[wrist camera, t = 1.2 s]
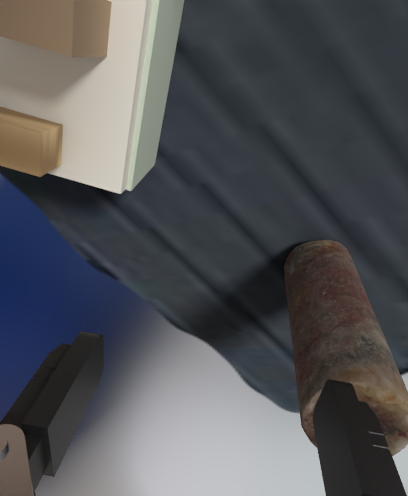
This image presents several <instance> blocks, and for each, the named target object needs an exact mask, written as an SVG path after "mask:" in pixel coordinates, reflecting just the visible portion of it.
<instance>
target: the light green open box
mask: <svg viewBox="0 0 408 496" xmlns="http://www.w3.org/2000/svg"><path fill="white" fill-rule="evenodd" d="M183 5H184V0H153V6H152V13H151V20H150V27H149V34H148V41H147V48H146V55H145V62H144V69H143V76H142V83H141V90H140V98H139V105H138V112H137V119H136V126H135V133H134V140H133V147H132V154H131V161H130V168H129V175H128V182H127V188H126V189H125V190H128V191H132V190H133V188H134V187H135V186H136V185H137V184H138V183H139V182H140V181H141V179H142V178H143V177H144V176H145V175H146V174H147V173H148V172H149V170H150V169H151V168H152V167H153V166H154V165H155V161H156V155H157V149H158V144H159V138H160V133H161V127H162V122H163V116H164V111H165V105H166V100H167V94H168V89H169V83H170V77H171V72H172V66H173V61H174V55H175V50H176V44H177V39H178V33H179V28H180V22H181V17H182V11H183Z"/></svg>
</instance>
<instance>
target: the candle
mask: <svg viewBox="0 0 408 496" xmlns="http://www.w3.org/2000/svg"><path fill="white" fill-rule="evenodd" d="M284 276H285V287H286V296H287V303H288V312H289V320H290V328H291V336H292V345H293V354H294V364H295V372H296V381H297V390H298V399H299V407H300V417H301V425H302V428H303V430H304V432H305V433H306V435H307V436H308V438H309V439H310V441H311V442H312V443H313V444H314V445H315V446H316V447H317V443H316V437H315V432H314V426H313V412H314V408H315V405H316V403H317V401H318V398H319V396H320V394H321V392H322V389H323V387H324V385H325V383H326V381H327V380H328V379H332V380H337V381H342V382H348V383H351V384H352V385H353V386H354V389H355V392H356V395H357V398H358V401H361V402H366V403H367V404H368V405H369V407H370V408H371V409H372V411H373V412H374V413H375V415H376V416H377V417H378V420H379V422H380V425H381V428H382V430H383V433H384V434H383V436H384V437H385V439H386V441H387V444H388V450H390V452H391V455H392V456H393V455H395V454H396V453H398V452H400V451H401V450H402V449H403V448H405V446H406V445H407V444H408V391H407V389H406V387H405V384H404V382H403V379H402V377H401V375H400V373H399V370H398V368H397V366H396V363H395V361H394V359H393V356H392V354H391V352H390V349H389V347H388V344H387V342H386V339H385V337H384V334H383V332H382V330H381V328H380V326H379V323H378V321H377V318H376V316H375V314H374V311H373V309H372V307H371V305H370V302H369V299H368V297H367V295H366V292H365V289H364V287H363V284H362V282H361V279H360V277H359V274H358V272H357V270H356V267H355V265H354V262H353V260H352V258H351V255H350V253H349V252H348V250H347V249H346V247H344V246H343V245H341V244H340V243H339V242H336V241H331V240H321V241H311V242H307V243H303V244H301V245H299V246H297V247H295V248H294V250H292V251H291V253H290V254H289V255H288V258H287V260H286V263H285V266H284Z"/></svg>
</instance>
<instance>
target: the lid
mask: <svg viewBox="0 0 408 496" xmlns="http://www.w3.org/2000/svg"><path fill="white" fill-rule="evenodd" d="M152 6H153V0H0V107H4V108H7V109H10V110H14V111H17V112H21V113H24V114H28V115H31V116H35V117H38V118H42V119H45V120H48V121H52V122H55V123H59V124H62V125H63V135H62V165H60V166H58V167H57V168H55V169H53V170H51V171H50V172H48V173H49V174H52V175H56V176H59V177H63V178H66V179H70V180H73V181H77V182H80V183H83V184H87V185H90V186H94V187H97V188H101V189H104V190H108V191H111V192H115V193H118V194H121V193H122V192H123V191H124V190H125V189H126V188H127V182H128V175H129V168H130V161H131V154H132V147H133V140H134V133H135V126H136V119H137V112H138V105H139V98H140V90H141V83H142V76H143V69H144V62H145V55H146V48H147V41H148V34H149V27H150V20H151V13H152Z"/></svg>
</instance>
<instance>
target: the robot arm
mask: <svg viewBox="0 0 408 496" xmlns="http://www.w3.org/2000/svg"><path fill="white" fill-rule="evenodd" d="M103 356H104V354H103V336H102V335H99V334H94V333H88V332H83V331H82V332H80V333H79V334H78V336H77V337H76V339H75V340H74V342H73V344H72V345H68V344H61V345H60V346H58V347H57V348H56V349H54V350H53V351H52V352H50V353H49V354H48V356H47V357H46V359H45V360H44V362H43V363H42V364H41V366H40V368H39V369H38V370H37V371H36V373H35V374H34V376H33V379H31V380H30V381H29V383H28V384H27V386H26V387H25V388H24V390H23V391H22V393H21V394H20V396H19V397H18V398H17V400H16V401H15V403H14V404H13V406H12V407H11V408H10V410H9V411H8V413H7V414H6V416H5V417H4V418H3V420H2V421H1V422H0V496H36V493H35V490H36V488H37V486H38V484H39V481H40V479H41V478H42V476H43V475H48V476H53V477H54V476H55V474H56V471H57V469H58V468H59V465H60V463H61V461H62V459H63V457H64V455H65V453H66V451H67V449H68V447H69V445H70V442H71V440H72V438H73V436H74V434H75V432H76V430H77V428H78V425H79V424H80V421H81V419H82V417H83V415H84V413H85V411H86V409H87V407H88V405H89V402H90V401H91V398H92V396H93V394H94V392H95V390H96V388H97V386H98V384H99V381H100V379H101V376H102V371H103V365H104V357H103ZM313 426H314V432H315V437H316V443H317V448H318V454H319V459H320V464H321V470H322V476H323V481H324V487H325V492H326V496H407V495H406V493H405V490H404V487H403V485H402V482H401V479H400V476H399V474H398V471H397V469H396V466H395V463H394V460H393V458H392V455H391V452H390V450H388V444H387V441H386V439H385V437H384V436H383V434H384V433H383V430H382V428H381V425H380V422H379V420H378V417H377V416H376V415H375V413H374V412H373V411H372V409H371V408H370V407H369V405H368V404H367V403H366V402H361V401H358V398H357V395H356V392H355V389H354V386H353V385H352V384H351V383H348V382H342V381H337V380H332V379H328V380H327V381H326V383H325V385H324V387H323V389H322V392H321V394H320V396H319V398H318V401H317V403H316V405H315V408H314V412H313Z"/></svg>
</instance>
